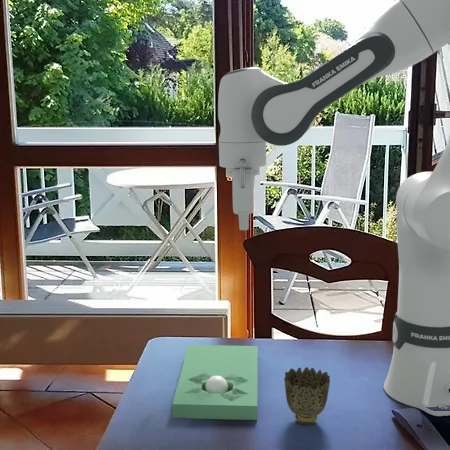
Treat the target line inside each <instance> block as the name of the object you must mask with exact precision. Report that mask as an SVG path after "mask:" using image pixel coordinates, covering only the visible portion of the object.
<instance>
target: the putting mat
mask: <svg viewBox="0 0 450 450" xmlns="http://www.w3.org/2000/svg"><path fill="white" fill-rule="evenodd" d="M258 355H259V346H258V345H227V344H226V345H223V344H222V345H219V344H218V345H215V344H213V345H212V344H188V346H187V349H186V354H185V356H184V359H183V360H184V361H183V365H182V367H181V372H180V375H179V379H178V382H177V386H176V390H175V394H174V397H173V400H172V405H171V407H172V419H195V420H196V419H198V420H199V419H201V420H202V419H204V420H234V421H235V420H239V421H240V420H241V421H243V420H245V421H247V420H248V421H258V387H259V386H258V373H259V372H258V371H259V368H258V365H259V364H258V363H259V361H258V360H259V358H258V357H259V356H258ZM212 376H221V377H223V378H224V379H225V380H226V382H227V384H228V391H227V392H226V393H223V394H217V393H208V392H206V390H205V385H206V382H207V380H208V379H209V378H211V377H212Z"/></svg>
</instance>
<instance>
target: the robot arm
mask: <svg viewBox="0 0 450 450" xmlns="http://www.w3.org/2000/svg"><path fill="white" fill-rule="evenodd" d="M448 44H450V0H395V1H393V2H392V3H390V4H389V6H387V7H386V8H385V9H383V10H382V11H381V12H380V13H378V14H377V15H376V17H374V18H373V19H372V20H371V21H370V22H369V23H368V25H366V27H365V28H364V29H363V30H362V31H361V32H359V34H358V35H357V36H356V38H355V39H354V40H352V42H351V43H350V44H349V45H348V46H347V47H345V48H344V49H343V50H342V51H341V52H340V53H338V54H337V55H334V56H333V57H332V58H330V59H329V60H327V61H326V62H325V63H322V65H320V66H319V67H317V68H315V69H314V70H313V71H311V72H310V73H308V74H307V75H305V76H303V77H302V78H301V77H300V79H298V80H296V81H293V82H285V81H282V80H280V79H278V78H276V77H273V76H272V75H270V74H269V73H267V72H265V71H264V70H263V69H262V68H260V67H257V66H249V67H244V68H243V67H242V68H240V69H235V70H232V71H229V72H227V73H225V74H224V75H223V76H222V78H221V79H220V82H219V86H218V87H219V89H218V97H217V98H218V100H217V103H218V104H217V117H218V121H219V126H220V127H219V128H220V133H219V137H218V157H219V159H218V160H219V167H221V168H224V169H225V168H226V169H225V170H226V172H225V174H226V176H229V177H231V178H232V186H231V187H232V210H233V211H232V212H233V213H234V214H235V215H238V224H239V225H238V226H239V227H238V228H239V230H240V231H248V230H249V228H250V222H249V221H250V215H251V214H253V213H254V208H255V207H254V206H255V205H254V189H255V188H254V187H255V179H256V178H255V177H256V176H258V175H260V174H261V169H260V168H262V167H264V166H266V165H267V143H268V144H269V145H273V146H278V147H280V146H281V147H283V146H284V147H285V146H288V145H292V144H294V143H296V142H298V141H299V140H300V139H301V138H302V137H303V136H304V135H305V133H307V132H308V131H309V130H310V129H311V128H312V127H313V125H314V123H315V121H316V119H317V117H318V115H320V113H321V112H322V111H324V110H325V109H326V108H327V107H330V106H331V105H332V104H334V103H335V102H337V101H338V100H340V99H341V98H343V97H344V96H345V95H347V94H349V93H351V92H352V91H354V89H357V88H358V87H359V86H361V85H363V84H365V83H367V82H370V81H373V80H375V79H377V78H382V77H385V76H389V75H393V74H396V73H399V72H401V71H404V70H406V69H408V68H410V67H412V66H415V65H416V64H418V63H420V62H422V61H424V60H425V59H427V58H429V57H430V56H432V55H433V54H435V53H436V52H438V51H439V50H441V49H442V48H443V47H445V46H447V45H448ZM395 206H396V236H397V237H396V238H397V254H398V267H399V268H398V269H399V270H398V290H397V293H398V294H397V311H396V312H395V314H394V319H393V323H392V343H393V351H392V352H393V353H392V356H391V361H390V366H389V370H388V373H387V376H386V379H385V381H384V384H383V389H384V392H385V393H386V394H387V395H388V396H389V397H391V399H393V400H395V401H397V402H399V403H402V404H404V405H407V406H409V407H413V408H417V409H420V410H422V411H423V412H425V413H427V414H429V415H432V416H434V417H443V416H445V417H446V416H447V417H448V416H450V411H433V410H430V409H428V408H426V407H436V406H438V407H439V408H441V409H447V408H448V407H446V405H450V134H449V135H448V139H447V143H446V145H445V148H444V149H443V152H442V154H441V156H440V158H439V160H438V162H437V163H436V165H435V167H434V169H433V171H421V172H418V173H415V174H412V175H410V176H409V177H406V179H405V180H404V181H402V183H400V186H399V187H398V189H397V192H396V197H395ZM444 405H445V406H444Z"/></svg>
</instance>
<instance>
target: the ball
mask: <svg viewBox="0 0 450 450" xmlns="http://www.w3.org/2000/svg"><path fill="white" fill-rule="evenodd" d="M205 390H206V392H208V393H217V394H223V393H226V392H227V391H228V384H227V382H226V380H225V379H224V378H223V377H221V376H212V377H211V378H209V379H208V380H207V382H206V385H205Z"/></svg>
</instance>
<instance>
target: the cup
mask: <svg viewBox="0 0 450 450" xmlns="http://www.w3.org/2000/svg"><path fill="white" fill-rule="evenodd" d="M330 378H331V377H330V375H329V373H328V371H325V372H322V369H319V370H318V371H316V370H315V368H314V367H311V368H310V369H309V368H308V366H306V367H305V368H304V369H303V370H302V367H298V368H297V370H296V369H294V368H292V367H291V368H290V369H289V370H288V371H285V372H284V378H283V380H284V389H285V396H286V403H287V406H288V408H289V409H290V411H291V412H292V413H294V418H295V421H296V423H298V424H300V425H303V426H310V425H314V424H315V423H316V422H317V420H318V415H320V414H322V413H323V411H324V410H325V407H326V406H327V401H328V396H329V389H330V383H331V380H330Z"/></svg>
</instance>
